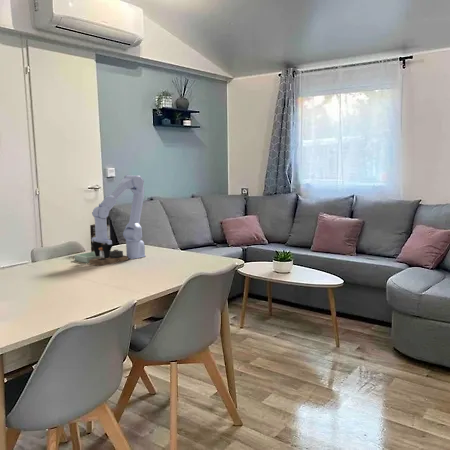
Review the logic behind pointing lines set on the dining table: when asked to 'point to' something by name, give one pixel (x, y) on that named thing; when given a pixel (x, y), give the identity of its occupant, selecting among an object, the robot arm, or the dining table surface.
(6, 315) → the dining table surface
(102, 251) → the lock pin
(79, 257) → the tray
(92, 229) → the coffee box
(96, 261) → the tensioner board
